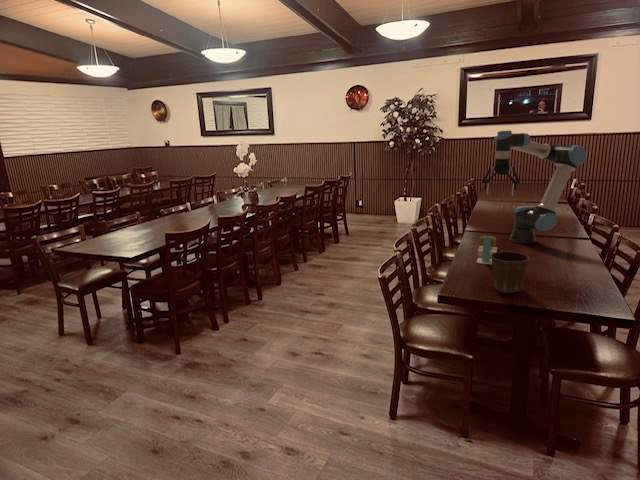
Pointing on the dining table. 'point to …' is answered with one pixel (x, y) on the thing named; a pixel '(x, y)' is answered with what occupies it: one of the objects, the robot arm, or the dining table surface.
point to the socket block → (480, 251)
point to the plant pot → (508, 271)
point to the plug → (486, 248)
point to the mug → (491, 241)
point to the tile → (484, 261)
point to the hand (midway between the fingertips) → (499, 194)
